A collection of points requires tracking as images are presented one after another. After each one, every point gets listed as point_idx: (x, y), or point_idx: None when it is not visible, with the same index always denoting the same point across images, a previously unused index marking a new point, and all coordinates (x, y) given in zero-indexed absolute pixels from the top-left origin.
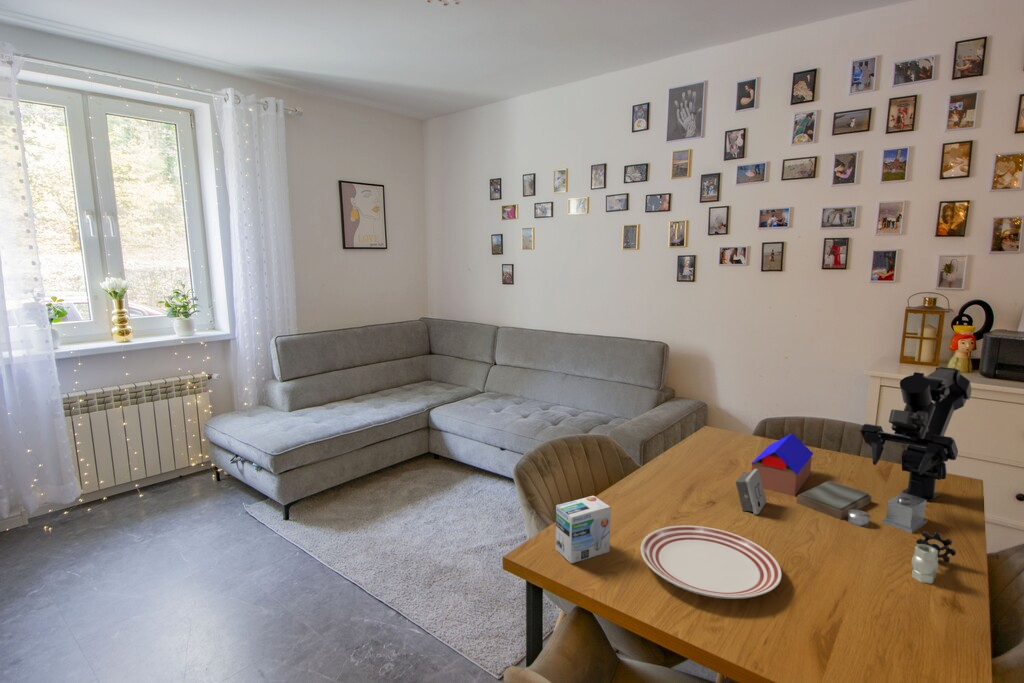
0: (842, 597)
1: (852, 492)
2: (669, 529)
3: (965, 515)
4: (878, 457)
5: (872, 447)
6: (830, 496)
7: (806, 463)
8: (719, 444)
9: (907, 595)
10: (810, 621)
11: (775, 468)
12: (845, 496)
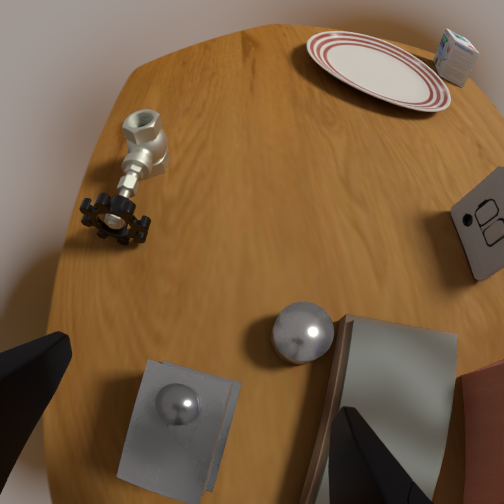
0: (250, 81)
1: None
2: (446, 95)
3: None
4: (338, 489)
5: (423, 498)
6: (401, 391)
7: (500, 499)
8: None
9: (179, 116)
10: (266, 52)
11: None
12: None
